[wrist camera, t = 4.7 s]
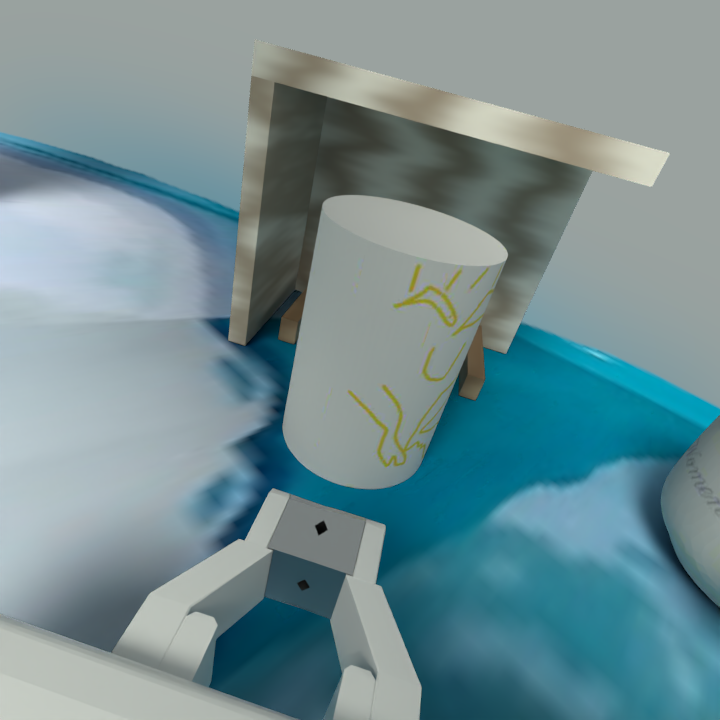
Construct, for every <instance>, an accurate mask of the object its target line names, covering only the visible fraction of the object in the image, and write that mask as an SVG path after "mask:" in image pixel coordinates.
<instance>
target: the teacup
mask: <svg viewBox="0 0 720 720" xmlns="http://www.w3.org/2000/svg"><path fill="white" fill-rule="evenodd" d="M661 509H662V515H663V519H664V522H665V525H666V527H667V530H668V532H669V535H670V539H671V542H672V545H673V547H674V550H675V552H676V555H677V557H678V559H679V561H680V562H681V564H682V566H683V567H684V569H685V570H686V572H687V573H688V574H689V575H690V577H691V578H692V579H693V581H694V582H695V583H696V584H697V585H698V586H699V588H700V589H701V590H702V591H703V592H704V593H705V594H706V595H707V596H708V597H709V598H710V599H711V600H712V601H713V602H714V603H715V604H716V605H718V606H719V607H720V415H719V416H718V417H717V418H716V419H715V420H714V422H713V423H712V424H711V425H710V426H709V427H708V428H707V429H706V430H705V431H704V432H703V433H702V434H701V435H700V436H699V438H698V439H697V440H696V441H695V442H694V443H693V444H692V445H691V446H690V447H689V449H688V450H687V451H686V452H685V453H684V455H683V456H682V457H681V458H680V460H679V461H678V462H677V463H676V464H675V466H674V467H673V469H672V470H671V472H670V473H669V475H668V477H667V478H666V480H665V483H664V485H663V489H662V493H661Z"/></svg>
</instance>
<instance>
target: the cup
mask: <svg viewBox="0 0 720 720" xmlns="http://www.w3.org/2000/svg"><path fill="white" fill-rule="evenodd" d="M507 257H508V253H507V250H506V249H505V247H504V246H503V245H502V244H501V243H500V242H499V241H498V240H496V239H495V238H494V237H492V236H491V235H489V234H487V233H486V232H484V231H482V230H481V229H479V228H477V227H475V226H473V225H471V224H468V223H466V222H464V221H462V220H459V219H457V218H454V217H452V216H449V215H446V214H444V213H441V212H438V211H435V210H432V209H428V208H425V207H422V206H418V205H414V204H410V203H406V202H402V201H397V200H392V199H387V198H381V197H373V196H364V195H341V196H335V197H331V198H328V199H327V200H325V201H324V202H323V205H322V210H321V216H320V221H319V227H318V232H317V238H316V243H315V249H314V254H313V260H312V265H311V271H310V276H309V282H308V287H307V293H306V298H305V304H304V309H303V315H302V320H301V326H300V331H299V337H298V342H297V348H296V353H295V359H294V364H293V370H292V375H291V381H290V386H289V392H288V397H287V403H286V408H285V413H284V419H283V435H284V439H285V441H286V444H287V446H288V448H289V449H290V451H291V452H292V454H293V455H294V456H295V457H296V459H297V460H298V461H299V462H300V463H301V464H303V465H304V466H305V467H306V468H307V469H309V470H310V471H312V472H313V473H315V474H316V475H318V476H320V477H322V478H324V479H326V480H328V481H331V482H333V483H336V484H339V485H343V486H347V487H352V488H358V489H380V488H386V487H391V486H394V485H397V484H399V483H401V482H403V481H405V480H407V479H408V478H410V477H411V476H412V475H413V474H414V473H415V472H416V471H417V469H418V468H419V466H420V464H421V462H422V460H423V458H424V455H425V453H426V450H427V448H428V446H429V443H430V441H431V438H432V436H433V434H434V431H435V429H436V427H437V424H438V422H439V419H440V417H441V415H442V412H443V410H444V407H445V405H446V403H447V400H448V398H449V396H450V393H451V391H452V388H453V386H454V384H455V381H456V379H457V377H458V374H459V372H460V369H461V367H462V365H463V362H464V360H465V357H466V355H467V353H468V350H469V348H470V346H471V343H472V341H473V338H474V336H475V334H476V331H477V329H478V326H479V324H480V322H481V319H482V317H483V315H484V312H485V310H486V307H487V305H488V303H489V300H490V298H491V295H492V293H493V291H494V288H495V286H496V284H497V281H498V279H499V276H500V274H501V272H502V269H503V267H504V264H505V262H506V260H507Z"/></svg>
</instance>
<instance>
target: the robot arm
mask: <svg viewBox="0 0 720 720" xmlns="http://www.w3.org/2000/svg"><path fill="white" fill-rule="evenodd" d="M385 531H386V527H385V525H384V524H381V523H378V522H375V521H371V520H368V519H366V518H363V517H360V516H357V515H354V514H350V513H347V512H344V511H341V510H337V509H334V508H331V507H326V506H323V505H320V504H317V503H314V502H312V501H309V500H306V499H303V498H300V497H297V496H295V495H291V494H288V493H285V492H283V491H280V490H277V489H274V488H273V489H272V490H271V491H270V492H269V494H268V496H267V498H266V500H265V502H264V503H263V505H262V507H261V509H260V511H259V513H258V515H257V517H256V519H255V521H254V523H253V525H252V527H251V529H250V531H249V533H248V535H247V537H246V539H245V541H244V540H241V539H238V540H236V541H235V542H233V543H232V544H230V545H228V546H227V547H225V548H223V549H222V550H220V551H218V552H217V553H215V554H213V555H212V556H210V557H208V558H207V559H205V560H203V561H202V562H200V563H199V564H197V565H195V566H194V567H192V568H190V569H189V570H187V571H185V572H184V573H182V574H180V575H179V576H177V577H175V578H174V579H172V580H171V581H169V582H167V583H166V584H164V585H162V586H161V587H159V588H157V589H156V590H154V591H152V592H151V593H150V594H149V595H148V597H147V598H146V600H145V601H144V603H143V604H142V606H141V607H140V609H139V610H138V612H137V613H136V615H135V617H134V618H133V620H132V621H131V623H130V624H129V626H128V627H127V629H126V630H125V632H124V633H123V635H122V637H121V638H120V640H119V641H118V643H117V644H116V646H115V647H114V649H113V650H112V652H111V653H110V652H107V651H104V650H102V649H99V648H96V647H93V646H90V645H87V644H85V643H82V642H79V641H76V640H73V639H70V638H68V637H65V636H62V635H59V634H56V633H53V632H51V631H48V630H45V629H42V628H39V627H36V626H34V625H31V624H28V623H25V622H22V621H20V620H17V619H14V618H11V617H8V616H5V615H3V614H0V720H299V719H297V718H294V717H291V716H288V715H285V714H282V713H280V712H277V711H274V710H271V709H268V708H266V707H263V706H260V705H257V704H254V703H251V702H249V701H246V700H243V699H240V698H237V697H234V696H232V695H229V694H226V693H223V692H220V691H218V690H215V689H212V688H209V685H210V683H211V678H212V670H213V661H214V652H215V644H216V639H217V638H218V637H219V636H220V635H221V634H223V633H224V632H225V631H226V630H227V629H228V628H230V627H231V626H232V625H233V624H234V623H236V622H237V621H238V620H239V619H240V618H241V617H243V616H244V615H245V614H246V613H247V612H249V611H250V610H251V609H252V608H253V607H254V606H256V605H257V604H258V603H259V602H260V601H261V600H263V598H264V597H267V598H270V599H273V600H277V601H280V602H283V603H286V604H290V605H293V606H296V607H299V608H302V609H304V610H307V611H310V612H313V613H315V614H318V615H321V616H323V617H326V618H329V619H331V620H330V623H331V627H332V631H333V636H334V640H335V644H336V649H337V653H338V658H339V662H340V666H341V671H342V676H341V679H340V681H339V683H338V686H337V688H336V690H335V693H334V695H333V697H332V700H331V702H330V704H329V706H328V709H327V711H326V713H325V716H324V718H323V720H419V716H420V703H421V690H422V687H421V685H420V682H419V680H418V677H417V675H416V672H415V669H414V667H413V664H412V662H411V659H410V657H409V654H408V652H407V649H406V647H405V644H404V642H403V639H402V637H401V634H400V632H399V629H398V627H397V624H396V622H395V619H394V617H393V614H392V612H391V609H390V607H389V604H388V602H387V599H386V597H385V594H384V591H383V589H382V586H379V585H377V584H376V580H377V574H378V569H379V563H380V558H381V552H382V547H383V542H384V536H385Z"/></svg>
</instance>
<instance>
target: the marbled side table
mask: <svg viewBox="0 0 720 720" xmlns="http://www.w3.org/2000/svg"><path fill="white" fill-rule="evenodd" d="M669 154H670V153H667V152H663V151H660V150H656V149H653V148H649V147H645V146H642V145H638V144H634V143H631V142H627V141H623V140H620V139H616V138H613V137H609V136H605V135H601V134H598V133H594V132H591V131H587V130H583V129H580V128H576V127H572V126H568V125H565V124H561V123H558V122H554V121H550V120H547V119H543V118H539V117H536V116H532V115H528V114H525V113H521V112H517V111H514V110H510V109H507V108H503V107H499V106H496V105H492V104H488V103H485V102H481V101H478V100H474V99H470V98H466V97H463V96H459V95H456V94H452V93H448V92H444V91H441V90H437V89H434V88H430V87H426V86H422V85H419V84H415V83H412V82H408V81H405V80H401V79H397V78H394V77H390V76H386V75H383V74H379V73H375V72H371V71H368V70H364V69H361V68H357V67H353V66H350V65H346V64H342V63H338V62H335V61H332V60H328V59H324V58H321V57H317V56H313V55H309V54H306V53H302V52H299V51H295V50H291V49H288V48H284V47H280V46H277V45H273V44H269V43H266V42H262V41H258V40H255V42H254V54H253V65H252V76H251V88H250V99H249V111H248V122H247V133H246V145H245V156H244V167H243V168H244V169H243V180H242V190H241V202H240V213H239V224H238V236H237V247H236V258H235V270H234V281H233V293H232V304H231V315H230V327H229V338H228V341H231V342H235V343H238V344H241V345H244V346H245V345H246V344H247V343H248V342H249V341H250V340H251V339H252V337H253V336H254V335H255V334H256V333H257V332H258V331H259V330H260V329H261V327H262V326H263V325H264V324H265V323H266V322H267V321H268V320H269V318H270V317H271V316H272V315H273V314H274V313H275V312H276V311H277V310H278V308H279V307H280V306H281V305H282V304H283V303H284V302H285V301H286V299H287V298H288V297H289V296H290V295H291V294H292V293H293V292H294V291H295V290H297V291H300V292H302V294H301V295H300V296H299V297H298V298H297V299H296V301H295V302H294V303H293V304H292V305H291V307H290V308H289V309H288V310H287V311H286V312H285V314H284V315H283V316H282V317H281V324H280V330H279V337H278V339H279V340H282V341H285V342H288V343H291V344H295V342H296V341H297V340H298V337H299V331H300V326H301V320H302V315H303V309H304V304H305V298H306V293H307V287H308V282H309V276H310V271H311V265H312V260H313V254H314V249H315V243H316V238H317V232H318V227H319V221H320V216H321V210H322V205H323V202H324V201H325V200H327V199H328V198H331V197H335V196H341V195H364V196H373V197H381V198H387V199H392V200H397V201H402V202H406V203H410V204H414V205H418V206H422V207H425V208H428V209H432V210H435V211H438V212H441V213H444V214H446V215H449V216H452V217H454V218H457V219H459V220H462V221H464V222H466V223H468V224H471V225H473V226H475V227H477V228H479V229H481V230H482V231H484V232H486V233H487V234H489V235H491V236H492V237H494V238H495V239H496V240H498V241H499V242H500V243H501V244H502V245H503V246H504V247H505V249H506V250H507V253H508V257H507V260H506V262H505V264H504V267H503V269H502V272H501V274H500V276H499V279H498V281H497V284H496V286H495V288H494V291H493V293H492V295H491V298H490V300H489V303H488V305H487V307H486V310H485V312H484V315H483V317H482V319H481V322H480V324H479V326H478V329H477V331H476V334H475V336H474V338H473V341H472V343H471V346H470V348H469V350H468V353H467V355H466V357H465V360H464V362H463V365H462V367H461V369H460V372H459V396H462V397H466V398H469V399H472V400H475V401H476V398H477V396H478V394H479V392H480V390H481V388H482V385H483V383H484V381H485V370H484V355H483V347H485V348H488V349H492V350H495V351H498V352H501V353H505V354H506V353H507V350H508V348H509V346H510V344H511V342H512V340H513V338H514V336H515V334H516V331H517V329H518V327H519V325H520V323H521V321H522V319H523V317H524V315H525V312H526V310H527V308H528V306H529V304H530V302H531V300H532V298H533V295H534V293H535V291H536V289H537V287H538V285H539V283H540V281H541V279H542V277H543V274H544V272H545V270H546V268H547V266H548V264H549V262H550V260H551V258H552V255H553V253H554V251H555V249H556V247H557V245H558V243H559V241H560V239H561V236H562V234H563V232H564V230H565V228H566V226H567V223H568V222H569V220H570V217H571V215H572V213H573V211H574V209H575V207H576V205H577V202H578V200H579V198H580V196H581V194H582V192H583V190H584V188H585V186H586V184H587V181H588V179H589V177H590V175H591V173H592V171H596V172H599V173H603V174H607V175H611V176H614V177H617V178H621V179H625V180H628V181H632V182H635V183H639V184H643V185H646V186H650V187H652V185H653V183H654V182H655V180H656V178H657V176H658V174H659V173H660V171H661V169H662V167H663V165H664V163H665V162H666V160H667V158H668V156H669Z"/></svg>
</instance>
